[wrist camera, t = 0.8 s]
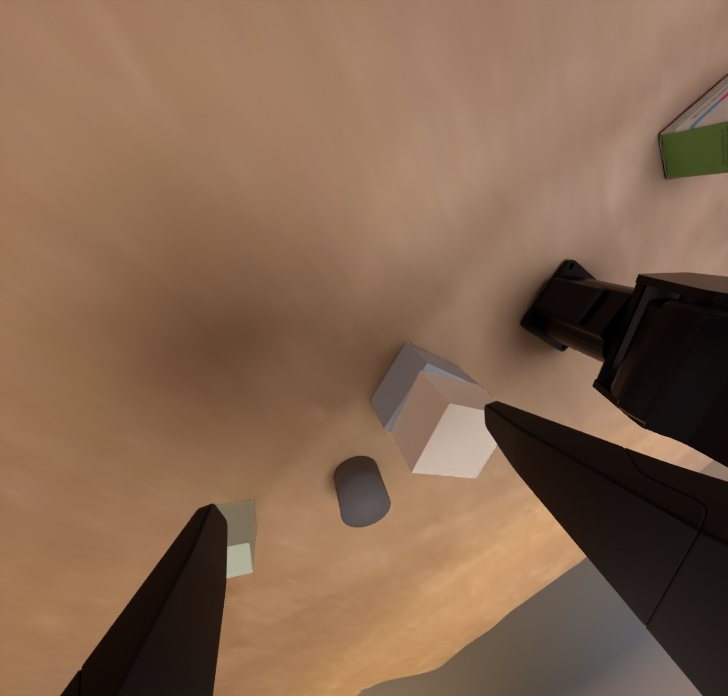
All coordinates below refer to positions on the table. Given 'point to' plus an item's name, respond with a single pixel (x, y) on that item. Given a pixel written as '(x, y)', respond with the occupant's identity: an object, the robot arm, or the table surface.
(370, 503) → the dark grey cylinder
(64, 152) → the table surface
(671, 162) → the ink box
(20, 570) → the table surface
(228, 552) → the sage block
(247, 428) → the table surface
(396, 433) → the tower top
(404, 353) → the tower base
